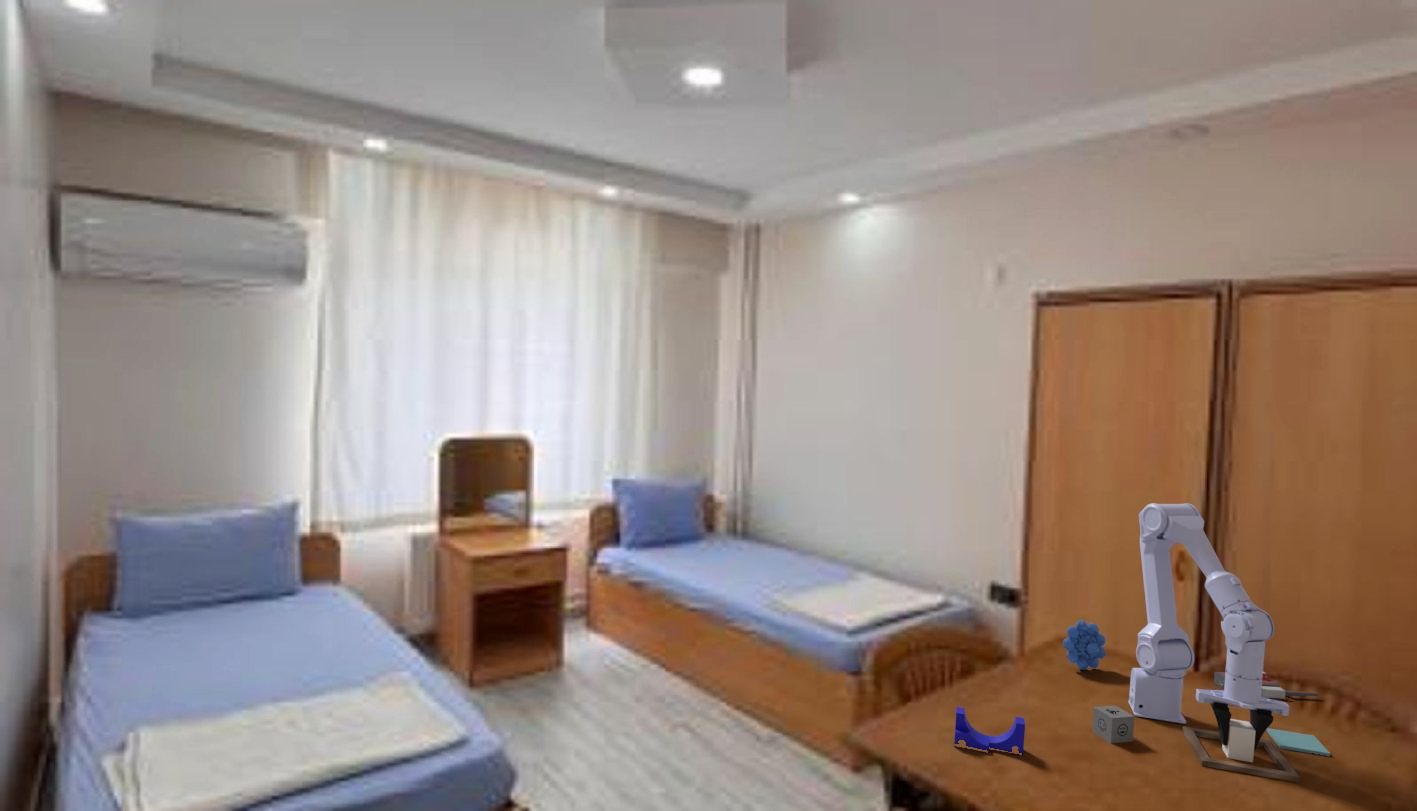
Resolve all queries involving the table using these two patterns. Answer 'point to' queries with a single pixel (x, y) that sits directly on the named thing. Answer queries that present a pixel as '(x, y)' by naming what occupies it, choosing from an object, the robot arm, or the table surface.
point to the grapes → (1084, 645)
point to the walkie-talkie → (1266, 687)
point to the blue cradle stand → (983, 741)
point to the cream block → (1240, 741)
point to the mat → (1298, 742)
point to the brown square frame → (1283, 774)
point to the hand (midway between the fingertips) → (1238, 745)
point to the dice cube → (1113, 724)
